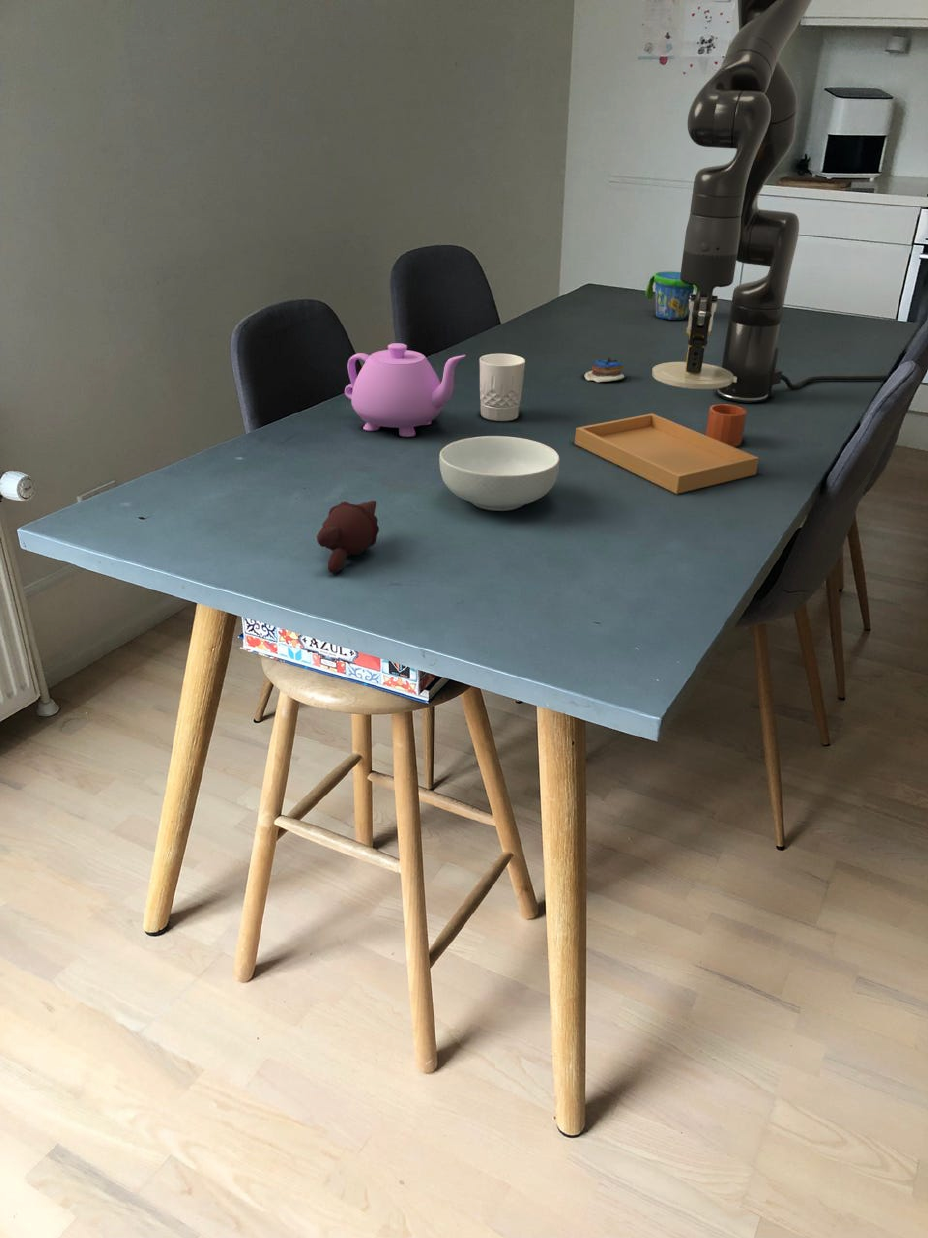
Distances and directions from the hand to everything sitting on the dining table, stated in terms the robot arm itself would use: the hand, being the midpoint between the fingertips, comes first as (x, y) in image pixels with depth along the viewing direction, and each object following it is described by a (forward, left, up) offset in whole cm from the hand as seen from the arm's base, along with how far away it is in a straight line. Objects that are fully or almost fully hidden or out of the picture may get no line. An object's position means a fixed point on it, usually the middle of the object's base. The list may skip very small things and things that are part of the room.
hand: (693, 368), depth 151 cm
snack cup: (-70, -79, -16) cm, 106 cm away
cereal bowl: (+33, -3, -16) cm, 37 cm away
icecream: (+59, +2, -16) cm, 61 cm away
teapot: (+29, -38, -16) cm, 50 cm away
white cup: (+11, -35, -16) cm, 40 cm away
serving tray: (0, -4, -16) cm, 16 cm away
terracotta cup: (-15, -6, -16) cm, 22 cm away
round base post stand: (0, 0, -1) cm, 1 cm away
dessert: (-21, -45, -16) cm, 52 cm away
